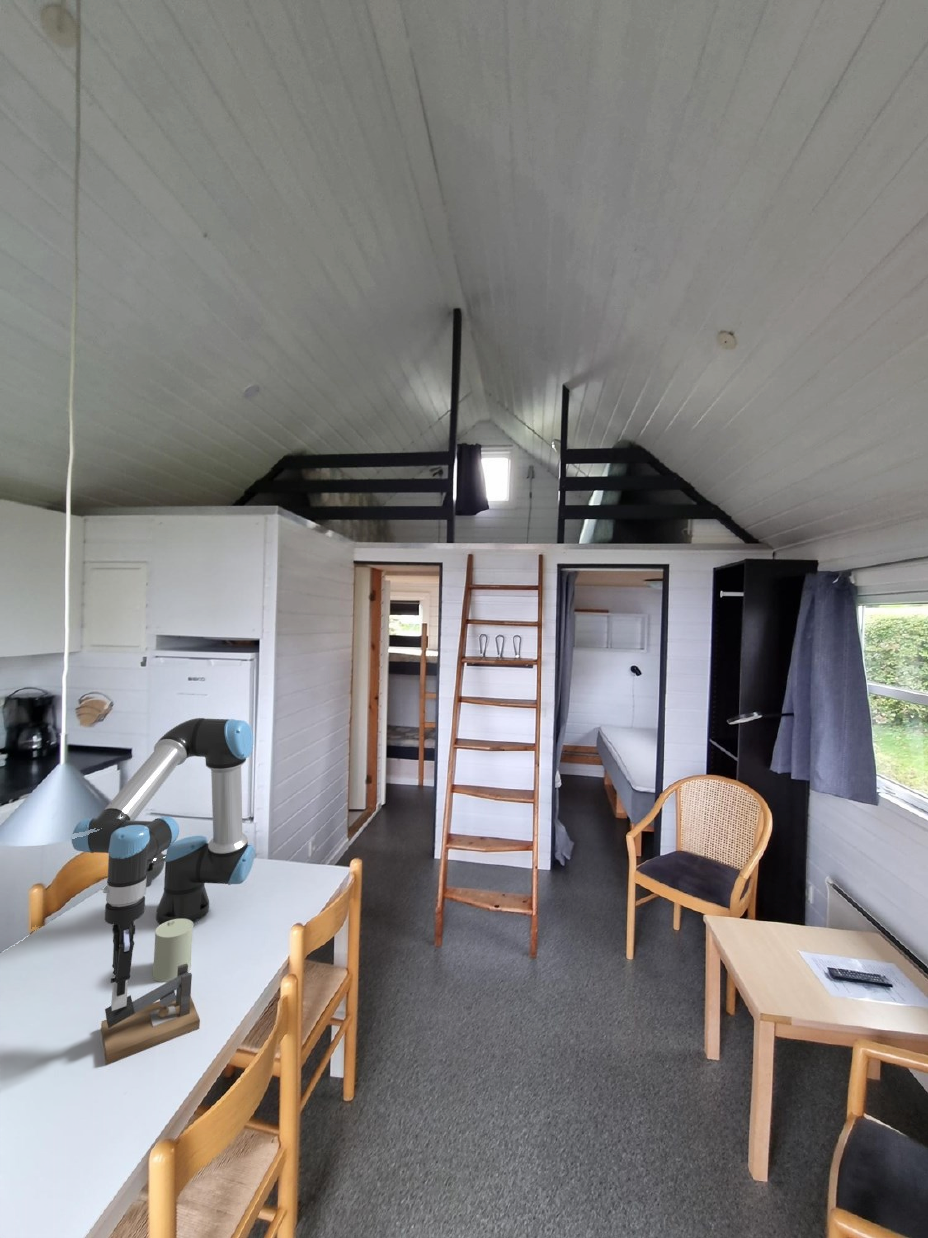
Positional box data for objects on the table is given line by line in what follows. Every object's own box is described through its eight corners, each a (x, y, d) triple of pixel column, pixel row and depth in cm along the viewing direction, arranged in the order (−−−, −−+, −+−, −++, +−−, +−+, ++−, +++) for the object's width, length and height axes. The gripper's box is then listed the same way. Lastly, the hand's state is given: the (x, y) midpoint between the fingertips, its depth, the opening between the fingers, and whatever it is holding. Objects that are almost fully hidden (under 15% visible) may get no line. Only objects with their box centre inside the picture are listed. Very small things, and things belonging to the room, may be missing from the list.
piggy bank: (124, 877, 192) (126, 845, 193) (170, 874, 196) (172, 843, 196) (112, 892, 181) (114, 858, 182) (160, 888, 185) (162, 855, 185)
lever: (109, 1026, 119) (104, 1009, 118) (190, 980, 129) (186, 964, 128) (111, 1040, 115) (107, 1022, 114) (194, 992, 125) (190, 975, 124)
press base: (101, 1030, 121) (104, 981, 121) (188, 999, 132) (190, 954, 132) (106, 1065, 111) (109, 1012, 112) (199, 1028, 123) (202, 980, 123)
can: (184, 956, 149) (187, 913, 149) (195, 972, 142) (198, 927, 142) (147, 969, 142) (150, 924, 143) (157, 987, 136) (160, 939, 136)
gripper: (102, 891, 121) (95, 996, 120) (108, 917, 111) (101, 1032, 110) (140, 883, 126) (134, 984, 125) (149, 906, 116) (142, 1017, 115)
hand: (118, 1006), depth 118 cm, fingers closed
